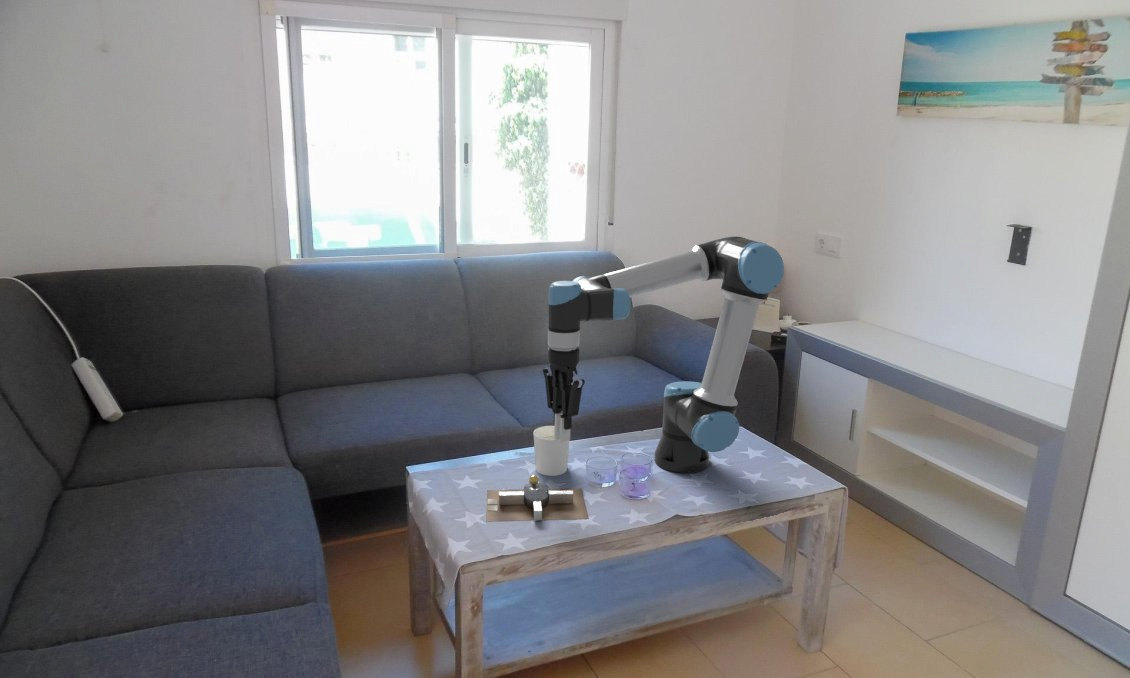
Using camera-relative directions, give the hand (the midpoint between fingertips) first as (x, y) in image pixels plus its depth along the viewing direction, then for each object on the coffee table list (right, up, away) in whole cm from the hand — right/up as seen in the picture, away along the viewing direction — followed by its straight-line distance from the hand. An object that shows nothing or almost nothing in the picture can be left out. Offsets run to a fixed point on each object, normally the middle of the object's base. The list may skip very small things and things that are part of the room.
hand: (562, 439), depth 190 cm
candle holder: (-3, -12, +19) cm, 23 cm away
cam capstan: (-6, -16, -1) cm, 17 cm away
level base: (-6, -17, -1) cm, 18 cm away
